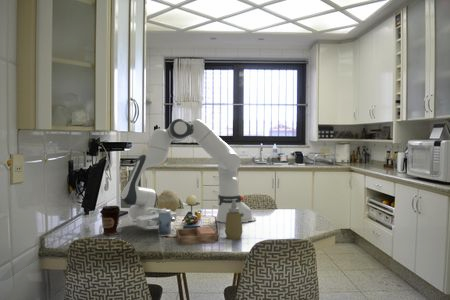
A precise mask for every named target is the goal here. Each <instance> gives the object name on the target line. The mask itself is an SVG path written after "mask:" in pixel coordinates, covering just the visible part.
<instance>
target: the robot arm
mask: <svg viewBox="0 0 450 300" xmlns="http://www.w3.org/2000/svg"><path fill="white" fill-rule="evenodd" d="M187 137H188V138H192V139H193V140H194V141H195V142H196V143H197V144H198V145H199V146H200V147H201V148H202V149H203V151H205V152H206V153H207V154H208V155H209V156H210V157H211V158H212V159H213V160H214V161H215V162H216V163H217V169H218V171H217V172H218V196H217V204H218V205H217V208H218V209H217V213H216V217H215V221H216V222H220V223H225V224H226V216H227V213H228V212H229V208H230V207H231V205H232V201H233V200H235V201H236V206H237V207H238V208H239V212H240V213H241V220H242V222H244V223H249V222H248V221H252V222H256V221H257V219H256V217H255V216H254V215H252V209H251V207H249V206H248V205H247V204H246V203H245V202H243V201H244V200H245V197H244V196H243V195H240V194H239V183H240V182H239V177H238V169H239V168H240V166H241V164H242V161H241V157H240V155H239V154H238V153H237V152H236V151H235V150H234V149H233V148H232V147H231V146H229V144H228V143H227V142H225V141H224V140H223V139H222V138H221V137H220V136H219V135H218V134H217V133H216V132H215V131H214V130H213V128H211V127H210V126H209V124H207V123H206V122H204V121H203V120H202V119H199V118H194V119H192V120H191V121H190V120H186V119H183V118H176V119H173V121H172V122H171V123H169V126H168V128H157V129H154V130H153V132H152V134H151V136H150V139H149V141H148V145H147V147H146V150H145V152H144V153H143V154H141V155H139V157H138V158H137V159H136V162H135V164H134V166H133V168H132V170H131V172H130V174H129V177H128V179H127V181H126V183H125V185H124V187H123V188H122V190H121V193H120V198H121V201H122V202H123V203H124V205H126V206H130V207H129V209H128V215H129V217H130V218H131V219H132V222H133V223H135V225H136V226H138V227H139V228H146V227H152V226H153V227H154V226H155V227H156V226H159V210H160V209H166V208H158V207H156V205H157V204H158V195H157V192H156V190H155V189H154V188H151V187H143V186H138V184H139V182H140V181H141V180H140V179H141V177H142V175H143V173H144V171H145V170H146V169H148V168H150V167H151V168H152V167H156V166H159V165H161V164H163V163H164V162H165V161H166V160H167V157H168V154H169V149H170V147H171V143H175V142H177V143H178V142H182V141H183V140H186V139H187ZM177 217H178V216H177V212H176V211H175V212H173V211H171V222H172V223H174V222H176V221H177ZM255 220H256V221H255Z"/></svg>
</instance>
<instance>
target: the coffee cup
mask: <svg viewBox="0 0 450 300" xmlns="http://www.w3.org/2000/svg"><path fill="white" fill-rule="evenodd" d="M120 211H121V209H120V208H119V205H106V206H102V207H101V212H100V213H101V222H102V224H101V225H102V229H103V231H102V233H103V235H105V236H106V235H107V236H110V235H111V236H113V235H117V234H118V225H119V223H120V222H119V221H120V213H121V212H120Z"/></svg>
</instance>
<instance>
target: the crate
mask: <svg viewBox="0 0 450 300" xmlns="http://www.w3.org/2000/svg"><path fill="white" fill-rule="evenodd" d="M211 228H212V229H213V230H214V231H215V235H208V236H197V227H195V228H193V227H192V228H191V227H190V228H178V229H177V228H176V229H175V231H176V232H175V233H176V234H175V236H176V238H177V241H178V242H177V243H178V245H188V244H189V245H190V244H200V243H213V242H214V243H215V242H216V243H217V242H219V234H218V232H217V231H216V230H215V229H214V228H213V227H212V226H211Z"/></svg>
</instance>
